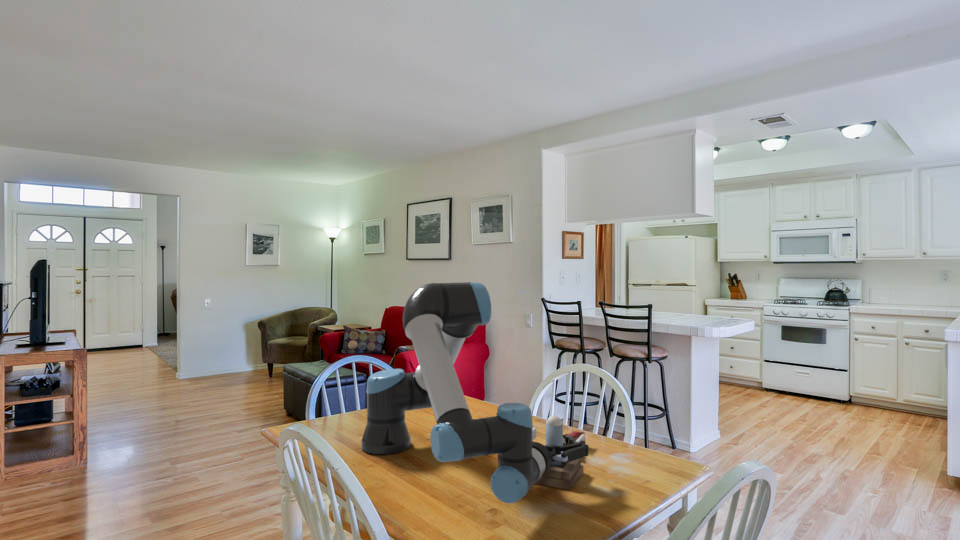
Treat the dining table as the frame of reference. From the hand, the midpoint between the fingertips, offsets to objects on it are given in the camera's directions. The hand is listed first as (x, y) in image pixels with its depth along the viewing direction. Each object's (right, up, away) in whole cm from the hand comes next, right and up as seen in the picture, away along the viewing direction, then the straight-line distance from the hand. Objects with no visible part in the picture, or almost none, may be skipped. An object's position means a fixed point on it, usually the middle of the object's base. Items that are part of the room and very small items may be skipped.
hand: (558, 435), depth 138 cm
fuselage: (-1, -8, -3) cm, 9 cm away
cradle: (-1, -10, -3) cm, 11 cm away
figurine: (+6, -10, +15) cm, 19 cm away
